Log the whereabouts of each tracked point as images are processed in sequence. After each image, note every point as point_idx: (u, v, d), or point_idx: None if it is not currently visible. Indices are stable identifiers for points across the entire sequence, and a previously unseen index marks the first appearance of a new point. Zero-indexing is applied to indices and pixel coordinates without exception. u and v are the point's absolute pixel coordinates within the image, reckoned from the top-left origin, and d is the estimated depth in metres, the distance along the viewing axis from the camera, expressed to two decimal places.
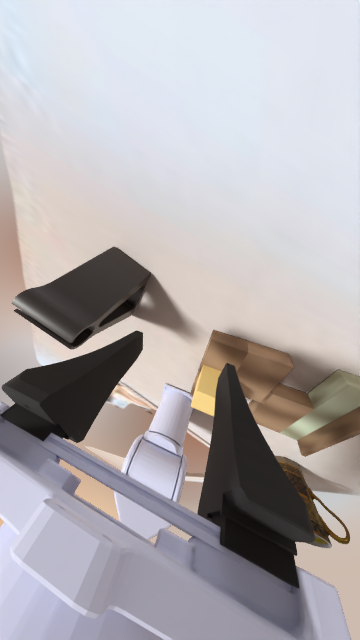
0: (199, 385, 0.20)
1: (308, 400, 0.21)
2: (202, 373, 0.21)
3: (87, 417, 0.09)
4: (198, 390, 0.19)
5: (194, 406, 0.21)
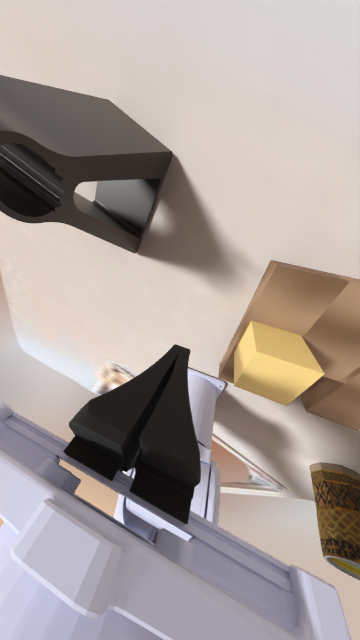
0: (257, 344, 0.11)
1: None
2: (254, 330, 0.13)
3: (139, 444, 0.08)
4: (258, 351, 0.11)
5: (241, 384, 0.13)
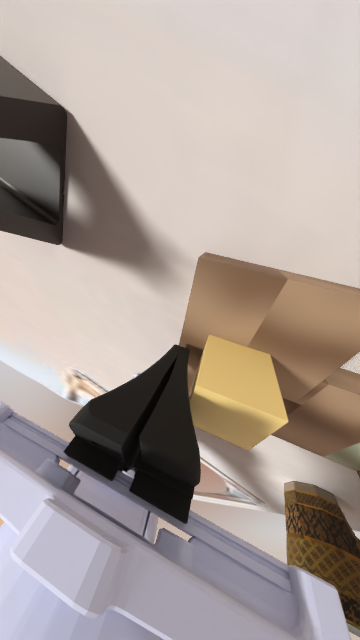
0: (202, 373, 0.08)
1: None
2: (208, 349, 0.10)
3: (140, 444, 0.08)
4: (200, 384, 0.08)
5: None
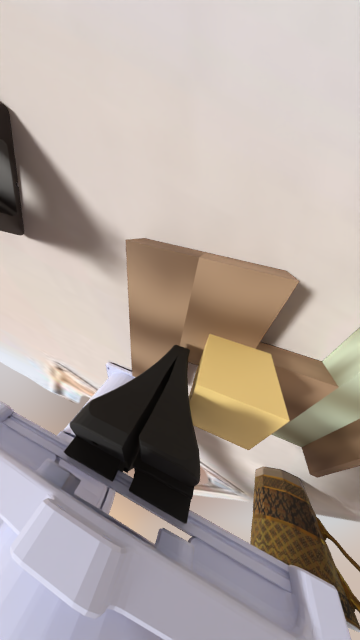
0: (202, 372, 0.08)
1: (325, 371, 0.11)
2: (208, 348, 0.10)
3: None
4: (200, 383, 0.08)
5: None
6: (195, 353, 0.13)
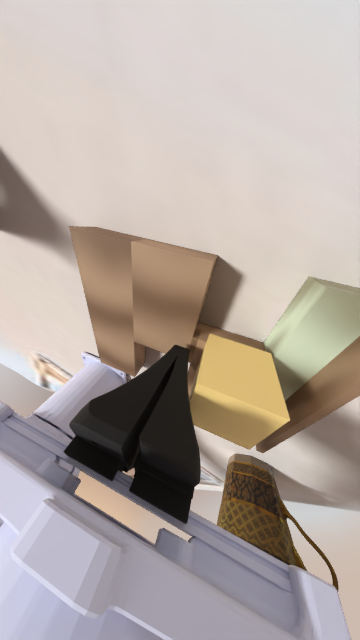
0: (203, 371, 0.08)
1: None
2: (208, 348, 0.10)
3: (140, 444, 0.08)
4: (200, 383, 0.08)
5: None
6: (147, 336, 0.13)
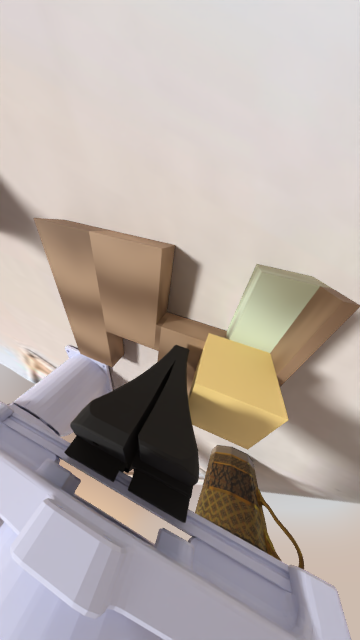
0: (201, 371, 0.08)
1: None
2: (207, 347, 0.10)
3: None
4: (199, 382, 0.08)
5: None
6: (117, 325, 0.14)
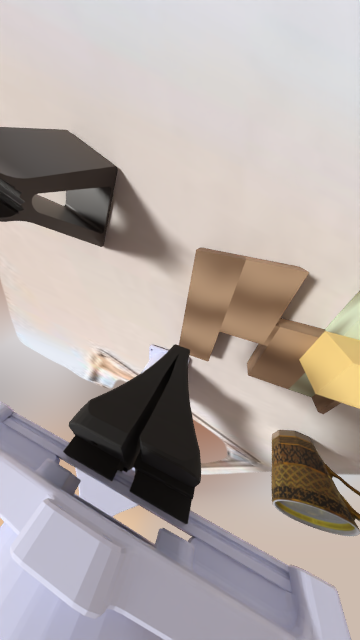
0: (348, 356, 0.12)
1: None
2: (335, 341, 0.14)
3: (139, 444, 0.08)
4: (354, 363, 0.11)
5: (325, 393, 0.14)
6: (234, 326, 0.18)
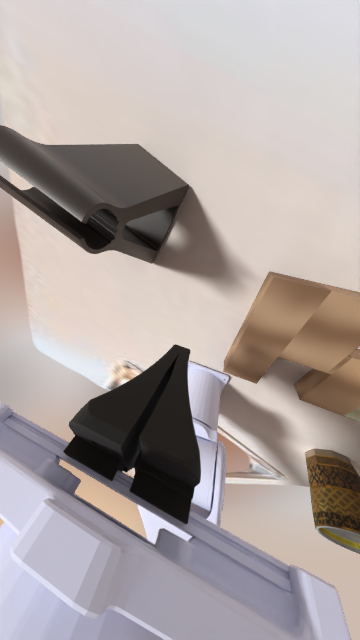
0: None
1: None
2: None
3: (139, 444, 0.08)
4: None
5: None
6: (297, 353, 0.17)
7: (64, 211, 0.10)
